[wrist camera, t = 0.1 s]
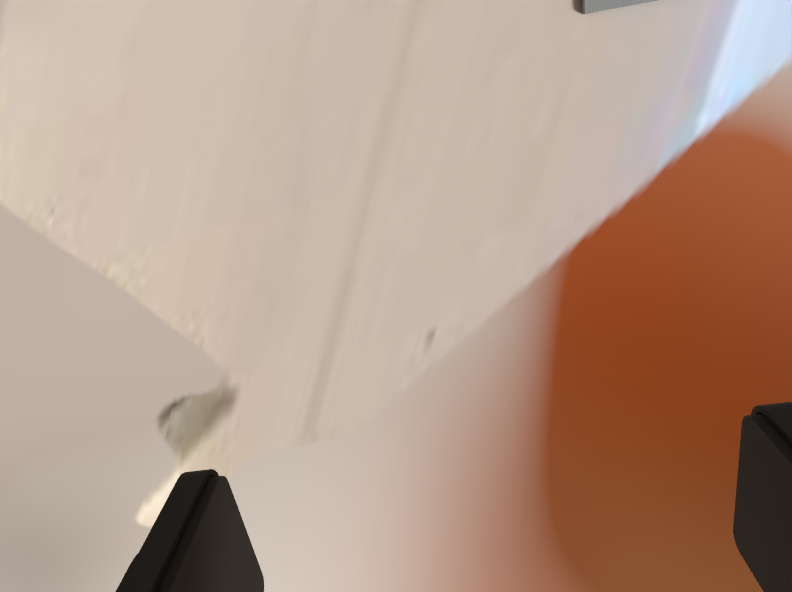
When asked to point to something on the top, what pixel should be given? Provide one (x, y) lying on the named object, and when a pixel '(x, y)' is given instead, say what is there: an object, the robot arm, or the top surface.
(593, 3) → the mat
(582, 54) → the top surface
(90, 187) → the top surface
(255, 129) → the top surface
